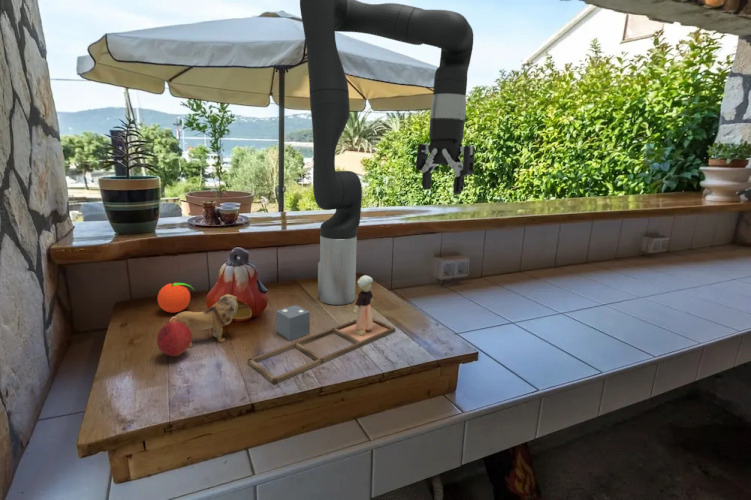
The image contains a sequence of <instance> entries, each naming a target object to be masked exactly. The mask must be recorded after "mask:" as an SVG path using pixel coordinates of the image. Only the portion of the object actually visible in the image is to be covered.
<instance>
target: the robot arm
mask: <svg viewBox="0 0 751 500" xmlns="http://www.w3.org/2000/svg"><path fill="white" fill-rule="evenodd" d="M299 8H300V9H299V10H300V16H301V23H302V27H303V32H304V33H303V34H304V39H305V46H306V48H305V49H306V57H307V60H306V61H307V71H308V73H307V74H308V83H309V84H308V86H309V87H308V89H309V103H310V104H309V105H310V115H311V125H312V126H311V128H312V144H313V145H312V146H313V148H312V149H313V151H312V152H313V156H312V157H313V161H312V162H313V165H312V166H313V167H312V168H313V169H312V170H313V171H312V188H313V191H312V192H313V196H314V200H315V203H316V205H317V206H318V207H319V208H320V209H321V210H324V211H328V210H330V211H331V210H335V213H334V214H333V215H332V216H331V217H330V218H328V219H327V220H325V221H323V222H322V223H321V224H320V228H319V229H320V231H319V233H320V236H319V237H320V239H319V240H320V241H319V242H320V245H319V250H320V251H319V254H320V256H319V261H318V262H317V297H319V300H320V301H321V302H322V303H323V304H327V305H335V306H340V305H341V306H342V305H347V304H350V303H353V302H354V301H355V300H356V277H357V275H356V274H357V272H356V271H357V243H358V242H357V238H358V237H357V236H358V235H357V234H358V229H359V227H360V222H361V213H362V200H363V199H362V198H363V187H362V182H361V179H360V177H359V175H358V174H357V173H356V172H354V171H353V170H352V171H351V170H336V159H335V158H336V150H337V145H338V143H339V140H340V138H341V137H342V134H343V132H344V131H345V128H346V126H347V123H348V121H349V118H350V111H351V110H350V91H349V84H348V79H347V77H346V72H345V69H344V66H343V63H342V61H341V58H340V54H339V51H338V46H337V42H336V32H341V33H342V32H343V33H357V34H360V33H361V34H368V35H373V36H375V37H381V38H384V39H389V40H393V41H397V42H400V43H405V44H410V45H415V46H421V45H427V46H432V47H435V48H438V49H440V59H439V67H437V68H436V70H435V72H434V73H435V74H434V78H433V79H434V80H433V92H432V100H431V106H430V116H429V117H430V119H429V120H430V121H429V131H428V132H429V133H428V138H429V140H430V141H429V144H428V143H419V144H417V152H416V161H415V169H416V170H418V171H419V172H421V173H422V177H421V187H422V190H426V191H428V190H431V189H432V179H433V177H432V176H433V173H432V172H433V170H434V169H435V167H438V165H444V166H449V167H450V168H451V169H452V170H453V173H454V174H455V176H454V180H453V190H452V191H453V194H454V195H460V194H462V192H463V191H464V188H465V187H464V185H465V178H466V176H469V175H473V174H474V172H475V151H476V150H475V149H476V148H475V146H474V145H465V146H463V143H462V142H463V139H464V131H465V123H466V112H467V111H466V110H467V101H466V100H467V99H466V98H467V86H468V71H469V67H470V63H471V57H472V54H473V49H474V48H473V46H474V30H473V28H472V26H471V25H470V23H469V22H468V20H467V18H466V17H465V16H464V15H462V14H460V13H459V12H457V11H453V10H446V9H425V8H424V9H423V8H422V7H421V8H420V7H416V6H412V5H407V4H403V3H401V4H400V3H394V2H392V3H391V2H389V3H387V2H385V3H373V4H372V3H368V2H367V3H366V2H363V1H359V0H299ZM429 154H430V155H429ZM428 155H429V156H428ZM461 155H462V159H463V160H462V159H461V157H460V156H461Z"/></svg>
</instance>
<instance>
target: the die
mask: <svg viewBox="0 0 751 500" xmlns="http://www.w3.org/2000/svg"><path fill="white" fill-rule="evenodd" d="M275 313H276V314H275V315H276V317H275V318H276V319H275V320H276V333H278V335H280V336H282V337H283V338H285V339H287V340H288V341H293V340H295V339H299V338H301V337H303V336H307V335H309V334H310V333H311V332H310V331H311V330H310V328H311V327H310V318H311V317H310V314H311V313H310V311H308V310H307V309H305V308H303V307H301V306H299V305H297V304H295V305H292V306H291V305H290V306H289V307H285V308H281V309H277V310H276V312H275Z"/></svg>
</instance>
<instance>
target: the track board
mask: <svg viewBox="0 0 751 500" xmlns="http://www.w3.org/2000/svg"><path fill="white" fill-rule="evenodd" d="M356 322H357V318H356V319H354V320H352V321H348V322H346V323H343V324H341V325H340V324H339V325H338V326H335V327H332V328H329V329H327V330H324V331H322V332H318V333H315V334H313V335H310V336H308V337H305V338H303V339H302V338H301V339H300V340H297V341H295V342H292V343H289V344H286V345H284V346H281V347H278V348H274V349H273V350H270V351H268V352H265V353H262V354H259V355H256V356H254V357H251V358H248V359H247V363H248V365H249V366H250V367H252V368H253V369H254V370H256V371H257V372H258V373H259V374H261V376H263V377H264V378H266V379H267V380H268V381H269V382H271V383H272V384H273V385H276V384H278V383H280V382H283V381H286V380H288V379H290V378H292V377H295V376H297V375H299V374H301V373H303V372H306V371H308V370H310V369H312V368H316V367H317V366H319V365H322V364H324V363H326V362H329V361H332V360H333V359H334V360H335V359H336V358H338V357H341V356H342V355H345V354H347V353H349V352H352V351H353V350H356V349H358V348H361V347H363V346H365V345H368V344H370V343H373V342H375V341H376V340H379V339H381V338H385V337H386V336H388V335H390V334H392V333H395V332H396V328H395V327H393V326H391V325H389V324H387V323H385V322H383V321H381V320H379V319H378V320H377V319H376V318H373V317H372V322H373V328H372V329H371V330H370V331H366V335H363V336H360V335H358V334H356V333H355V330H356ZM331 334H334V335H335V334H336V335H337V336H340V338H343V339H345V340H347V341H348V342H351V343H352V344H351V345H349V346H346V347H344V348H342V349H339V350H337V351H334V352H332V353H329V354H328V355H325V356H322V357H321V356H319V355H318V354H316V353H314V352H313V351H312V350H310V349H308V348H307V347H305V346H303V345H305V344H308V343H310V342H311V343H312V342H313V341H316V340H318V339H321V338H324V337H326V336H327V337H328V335H331ZM295 348H296V349H297V350H299V351H300V352H302V353H304V354H305V355H306V356H308V357H309V358H311V359H312V360H313V361H310V362H309V363H305V364H304V365H302V366H299V367H297V368H294V369H292V370H290V371H287V372H285V373H282V374H280V375H278V376H274V375H273V374H272V373H270V372H269V371H268V370H266V369H265V368H264V367H263V366H262V365H260V364H259V362H260V361H264V360H265V359H269V358H271V357H273V356H276V355H280V354H282V353H284V352H286V351H289V350H292V349H295Z"/></svg>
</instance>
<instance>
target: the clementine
mask: <svg viewBox="0 0 751 500" xmlns="http://www.w3.org/2000/svg"><path fill="white" fill-rule="evenodd" d="M186 286H187V287H186ZM188 287H190V288H191V289H192V290H193V291H195V289H194V288H193V287H192V285H189V284H187V283H183V282H171V283H170V282H169V283H168V284H166V285H164V286H163V287H161V289H160V290H159V291H158V295H157V303H158V306H159V307H160V309H162V310H163V311H165V312H167V313H172V314H174V313H181V312H183V311H184V310H185V309H186V308H187V307H188V305H190V301H191V292H190V291H189V289H188Z"/></svg>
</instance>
